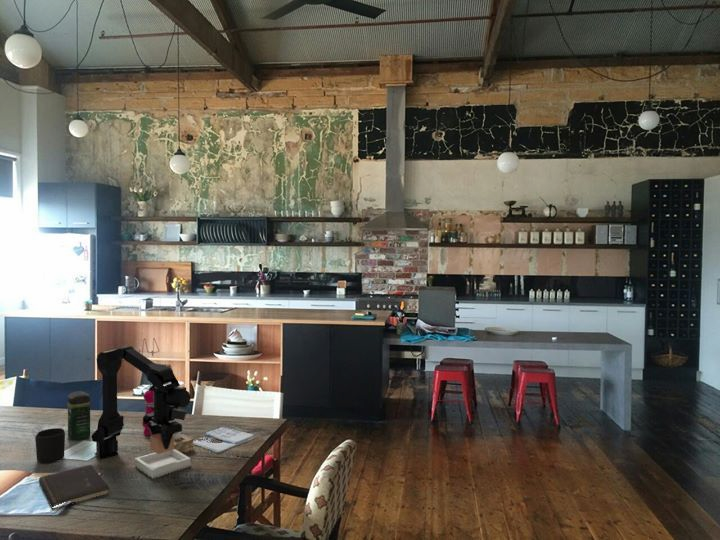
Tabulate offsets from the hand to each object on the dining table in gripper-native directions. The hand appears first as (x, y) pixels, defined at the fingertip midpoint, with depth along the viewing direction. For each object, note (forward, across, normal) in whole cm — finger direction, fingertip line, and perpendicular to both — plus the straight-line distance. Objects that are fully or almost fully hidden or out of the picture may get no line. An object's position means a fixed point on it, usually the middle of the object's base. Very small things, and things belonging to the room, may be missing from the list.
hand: (162, 446), depth 185 cm
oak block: (+8, +10, -11) cm, 17 cm away
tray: (+7, 0, 0) cm, 7 cm away
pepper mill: (+8, +35, -12) cm, 38 cm away
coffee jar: (+8, +51, +11) cm, 53 cm away
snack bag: (+8, +7, -28) cm, 30 cm away
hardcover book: (+8, +5, +28) cm, 29 cm away
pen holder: (+8, +35, +26) cm, 44 cm away
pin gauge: (+6, +10, -11) cm, 16 cm away
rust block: (+1, 0, 0) cm, 1 cm away
